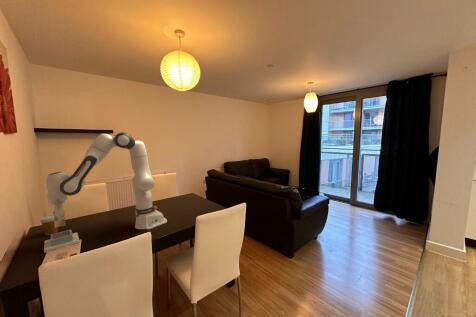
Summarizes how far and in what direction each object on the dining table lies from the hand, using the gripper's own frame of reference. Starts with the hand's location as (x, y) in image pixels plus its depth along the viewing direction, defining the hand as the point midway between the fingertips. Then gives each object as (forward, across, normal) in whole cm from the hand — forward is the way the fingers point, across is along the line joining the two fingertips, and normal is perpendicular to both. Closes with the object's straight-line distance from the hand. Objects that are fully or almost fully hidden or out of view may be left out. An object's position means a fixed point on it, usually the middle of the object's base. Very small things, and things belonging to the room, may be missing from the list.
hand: (59, 219), depth 124 cm
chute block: (+4, 0, 0) cm, 4 cm away
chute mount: (+15, 0, 0) cm, 15 cm away
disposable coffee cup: (+15, +22, +5) cm, 27 cm away
